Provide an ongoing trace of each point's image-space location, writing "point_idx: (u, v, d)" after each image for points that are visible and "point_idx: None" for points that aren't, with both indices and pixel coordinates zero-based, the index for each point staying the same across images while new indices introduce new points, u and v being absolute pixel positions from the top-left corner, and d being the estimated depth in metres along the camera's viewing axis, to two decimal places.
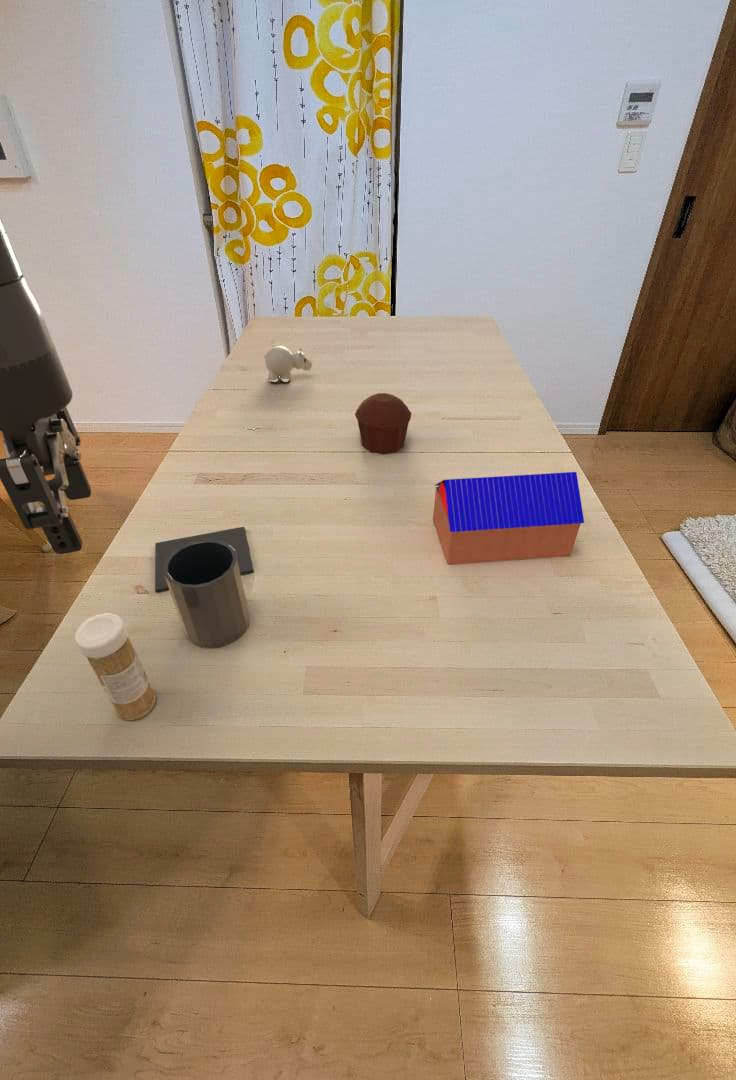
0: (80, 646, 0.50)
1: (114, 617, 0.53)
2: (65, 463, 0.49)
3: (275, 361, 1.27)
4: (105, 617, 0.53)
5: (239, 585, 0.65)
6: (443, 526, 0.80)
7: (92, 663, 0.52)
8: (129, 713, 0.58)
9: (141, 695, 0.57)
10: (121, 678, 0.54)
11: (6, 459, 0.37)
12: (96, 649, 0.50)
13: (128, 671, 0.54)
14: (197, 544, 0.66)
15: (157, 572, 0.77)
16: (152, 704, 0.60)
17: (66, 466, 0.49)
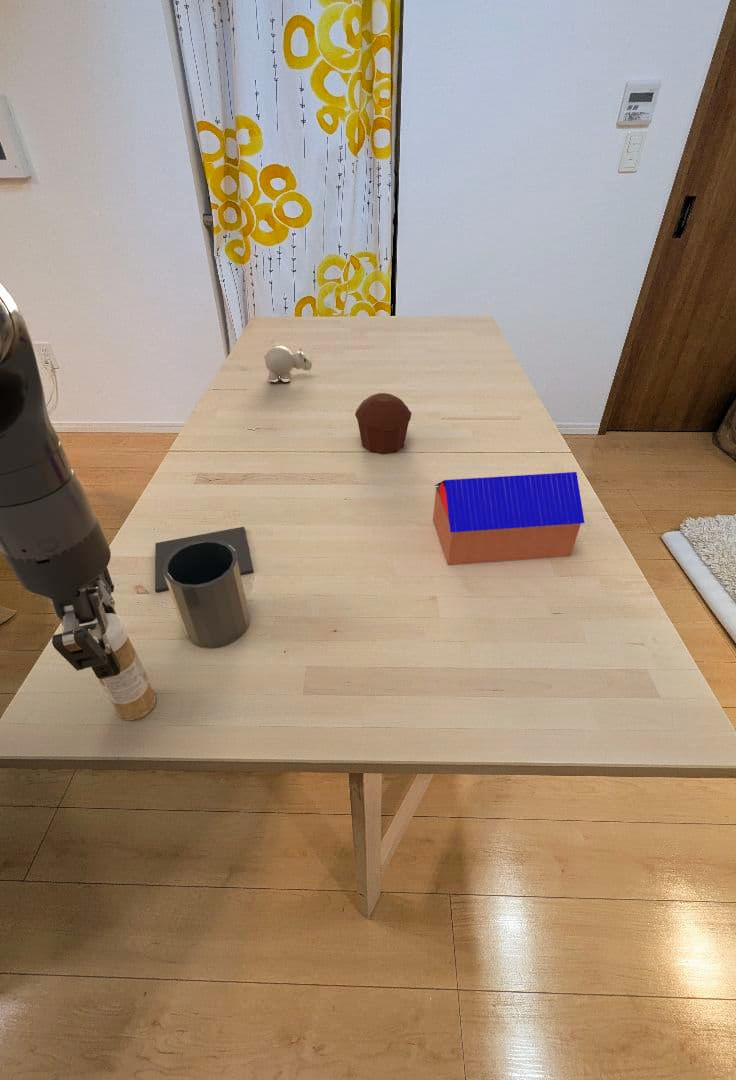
0: None
1: (114, 617, 0.53)
2: None
3: (275, 361, 1.27)
4: None
5: (239, 585, 0.65)
6: (443, 526, 0.80)
7: None
8: (129, 713, 0.58)
9: (141, 695, 0.57)
10: (121, 678, 0.54)
11: (62, 638, 0.43)
12: None
13: (128, 671, 0.54)
14: (197, 544, 0.66)
15: (157, 572, 0.77)
16: (152, 704, 0.60)
17: None
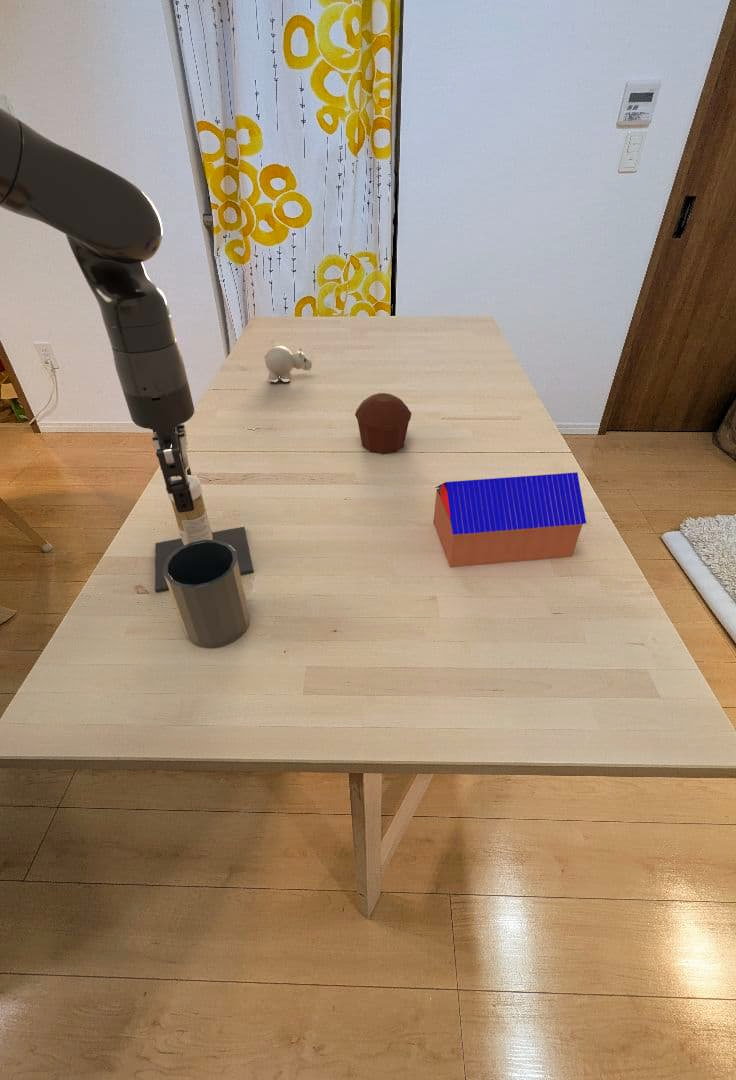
0: None
1: (192, 477, 0.72)
2: None
3: (275, 361, 1.27)
4: None
5: (239, 585, 0.65)
6: (445, 528, 0.79)
7: None
8: None
9: None
10: (196, 524, 0.73)
11: (163, 449, 0.61)
12: None
13: (201, 519, 0.74)
14: (197, 544, 0.66)
15: (157, 572, 0.77)
16: None
17: None
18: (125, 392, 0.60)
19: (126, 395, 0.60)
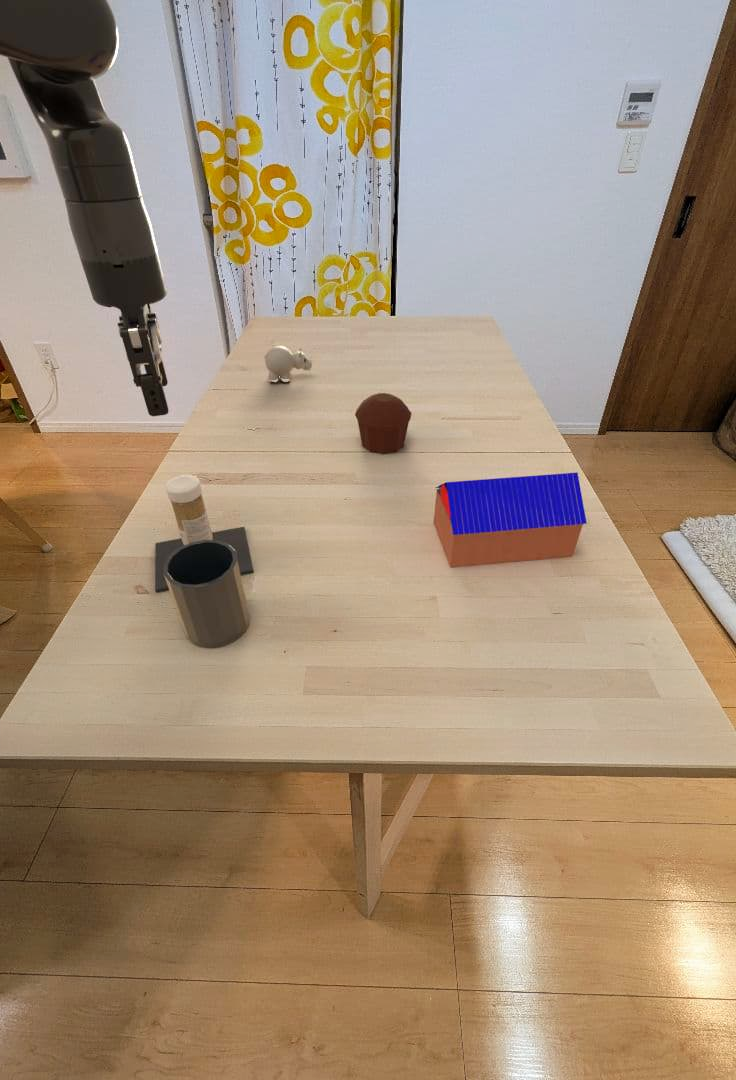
0: (170, 492, 0.70)
1: (192, 477, 0.72)
2: None
3: (275, 361, 1.27)
4: (186, 476, 0.72)
5: (239, 585, 0.65)
6: (445, 529, 0.79)
7: (177, 509, 0.72)
8: None
9: None
10: (196, 524, 0.73)
11: (128, 328, 0.52)
12: (182, 494, 0.70)
13: (201, 519, 0.74)
14: (197, 544, 0.66)
15: (157, 572, 0.77)
16: None
17: None
18: (82, 259, 0.51)
19: (84, 263, 0.51)
